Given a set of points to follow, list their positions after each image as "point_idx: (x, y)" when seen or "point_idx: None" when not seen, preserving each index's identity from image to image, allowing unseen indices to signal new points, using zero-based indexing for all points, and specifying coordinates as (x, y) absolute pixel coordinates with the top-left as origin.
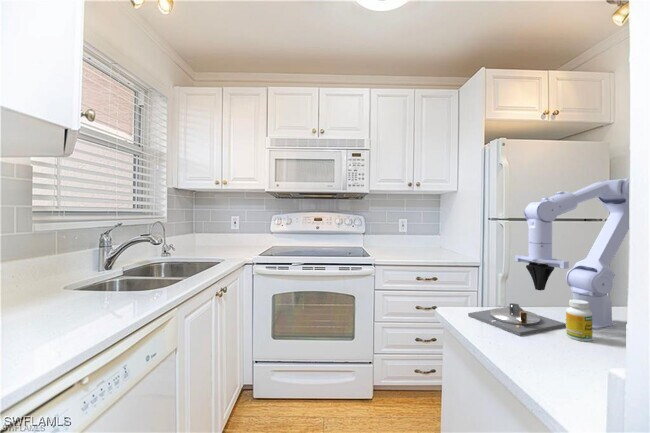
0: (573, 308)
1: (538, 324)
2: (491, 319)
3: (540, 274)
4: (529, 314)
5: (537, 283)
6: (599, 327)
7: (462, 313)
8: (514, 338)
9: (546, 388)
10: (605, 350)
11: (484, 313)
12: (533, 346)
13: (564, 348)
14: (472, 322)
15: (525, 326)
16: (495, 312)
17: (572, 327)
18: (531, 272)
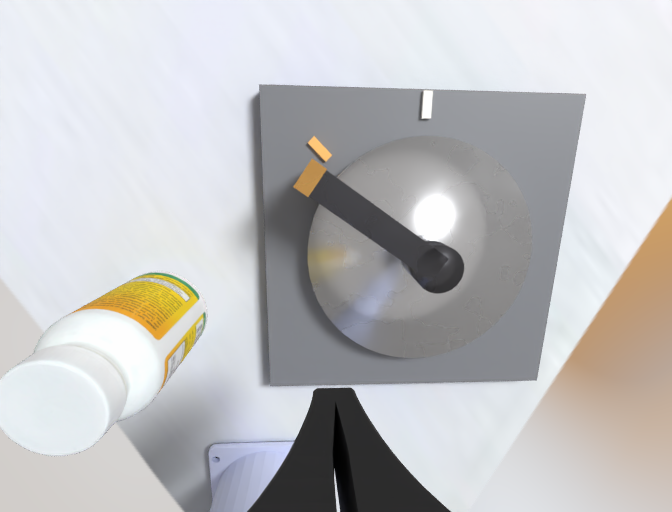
0: (83, 345)
1: (305, 271)
2: (453, 122)
3: (263, 502)
4: (386, 321)
5: (325, 418)
6: (209, 467)
7: (618, 108)
8: (251, 36)
9: None
10: (40, 271)
11: (534, 173)
12: (148, 28)
13: (94, 140)
14: (498, 34)
15: None
16: (488, 193)
17: (133, 284)
18: (401, 502)
